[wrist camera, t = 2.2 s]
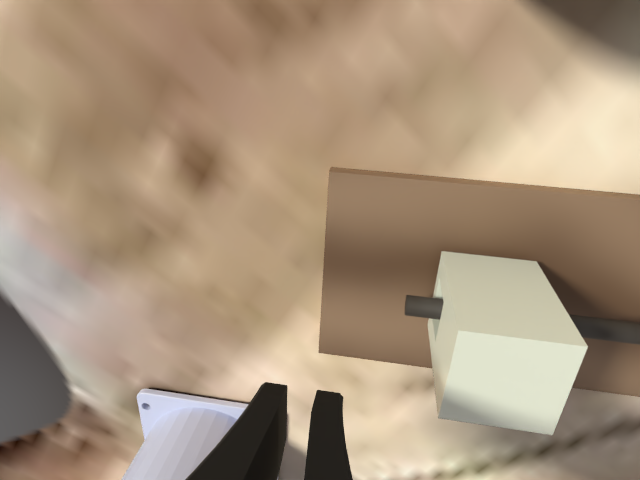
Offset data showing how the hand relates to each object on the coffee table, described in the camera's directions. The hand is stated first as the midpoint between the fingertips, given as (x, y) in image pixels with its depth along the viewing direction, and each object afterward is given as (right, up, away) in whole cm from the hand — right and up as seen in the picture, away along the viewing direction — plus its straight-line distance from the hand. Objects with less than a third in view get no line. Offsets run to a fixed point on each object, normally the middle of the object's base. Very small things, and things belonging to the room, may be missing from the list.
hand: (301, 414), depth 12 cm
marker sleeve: (+7, +3, +7) cm, 10 cm away
